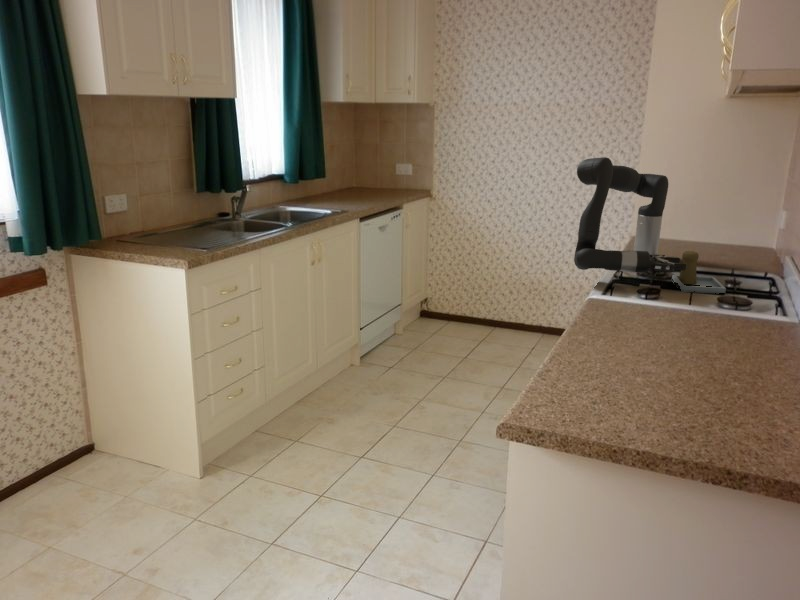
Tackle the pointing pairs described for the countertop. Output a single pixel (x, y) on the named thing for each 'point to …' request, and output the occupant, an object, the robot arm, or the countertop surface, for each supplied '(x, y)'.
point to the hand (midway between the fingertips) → (682, 263)
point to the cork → (689, 268)
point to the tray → (701, 285)
